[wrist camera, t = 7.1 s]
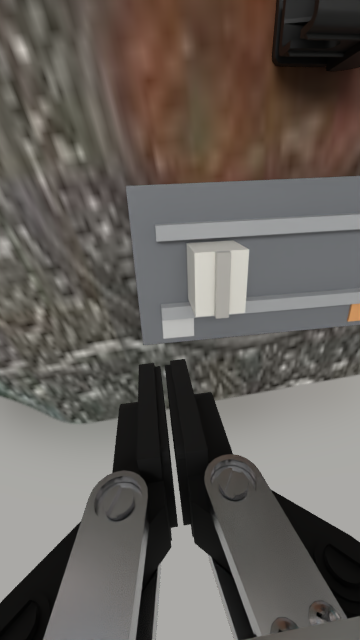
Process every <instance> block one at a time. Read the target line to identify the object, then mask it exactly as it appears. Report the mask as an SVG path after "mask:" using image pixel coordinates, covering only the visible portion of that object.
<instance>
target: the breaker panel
mask: <svg viewBox="0 0 360 640" xmlns="http://www.w3.org/2000/svg"><path fill="white" fill-rule="evenodd" d="M126 192H127V201H128V210H129V220H130V229H131V238H132V247H133V256H134V265H135V274H136V283H137V292H138V301H139V310H140V319H141V328H142V338H143V345H149V344H160V343H171V342H181V341H192V340H202V339H213V338H224V337H234V336H245V335H255V334H266V333H277V332H287V331H298V330H308V329H319V328H330V327H340V326H351V325H360V176H348V177H324V178H301V179H278V180H255V181H232V182H209V183H185V184H162V185H139V186H126ZM231 240H234V241H235V242H237V243H239V244H241V245H242V246H244V247H246V248H248V249H249V261H248V277H247V293H246V308H245V313H238V314H229V318H218V319H216V317H215V316H203V317H195V314H194V312H193V310H192V307H191V305H190V302H189V300H188V275H187V243H199V242H215V241H231Z"/></svg>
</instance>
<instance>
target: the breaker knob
mask: <svg viewBox="0 0 360 640" xmlns="http://www.w3.org/2000/svg"><path fill="white" fill-rule="evenodd" d="M248 261H249V249H248V248H246V247H244V246H242V245H241V244H239V243H237V242H235V241H234V240H231V241H215V242H199V243H187V275H188V300H189V302H190V305H191V307H192V310H193V312H194V314H195V317H203V316H215V317H216V319H218V318H229V314H238V313H245V308H246V293H247V277H248Z"/></svg>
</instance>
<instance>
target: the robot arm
mask: <svg viewBox="0 0 360 640" xmlns="http://www.w3.org/2000/svg"><path fill="white" fill-rule="evenodd" d="M165 371H166V380H167V389H168V399H169V408H170V417H171V426H172V434H173V442H174V451H175V459H176V467H177V475H178V483H179V491H180V499H181V507H182V515H183V523H184V525H189V524H191V529H192V536H193V537H194V542H195V544H197V545H198V546H199V547H200V548H201V549H203V550H204V551H205V552H206V553H207V554H208V556H209V561H210V564H211V567H212V571H213V574H214V577H215V580H216V584H217V587H218V589H219V593H220V596H221V600H222V603H223V606H224V609H225V612H226V616H227V619H228V622H229V625H230V628H231V632H232V634H233V638H234V640H360V542H358V541H357V540H356V539H354V538H353V537H352V536H350V535H348V534H346V533H345V532H343V531H341V530H340V529H338V528H336V527H335V526H332V525H331V524H329V523H328V522H326V521H324V520H322V519H321V518H319V517H317V516H316V515H314V514H312V513H310V512H309V511H307V510H305V509H303V508H302V507H300V506H298V505H296V504H294V503H293V502H291V501H290V500H288V499H286V498H284V497H283V496H281V495H279V494H277V493H276V492H274V491H272V490H271V489H270V488H269V486H268V484H267V483H266V481H265V479H264V478H263V476H262V474H261V473H260V471H259V470H258V468H257V467H256V466H255V465H254V464H253V463H252V462H251V461H249V460H248V459H246V458H244V457H241V456H239V455H233V453H232V450H231V447H230V444H229V442H228V439H227V436H226V433H225V430H224V427H223V424H222V421H221V418H220V415H219V412H218V410H217V407H216V404H215V401H214V398H213V395H212V393H211V392H208V393H201V394H194V393H193V389H192V385H191V381H190V377H189V373H188V369H187V365H186V361H185V359H181V360H173V361H170V365H165ZM177 526H178V524H177V514H176V505H175V496H174V486H173V476H172V468H171V458H170V448H169V438H168V429H167V420H166V411H165V403H164V394H163V386H162V377H161V369H160V366H157V367H155V366H154V363H149V364H141V365H139V387H138V402H134V403H127V404H121V405H120V408H119V416H118V426H117V436H116V445H115V454H114V463H113V473H112V474H110V475H107V476H106V477H105V478H103V479H102V480H101V481H99V483H98V484H97V485H96V486H95V487H94V489H93V490H92V492H91V495H90V497H89V499H88V502H87V505H86V508H85V511H84V515H83V517H82V521H81V522H80V523H79V524H78V525H77V526H76V527H75V528H74V529H73V530H72V531H71V532H70V533H69V534H68V535H67V536H66V537H65V538H64V539H63V540H62V541H61V542H60V543H59V544H58V545H57V546H56V547H55V548H54V549H53V550H52V551H51V552H50V553H49V554H48V555H47V556H46V557H45V558H44V559H43V560H42V561H41V562H40V563H39V564H38V565H37V566H36V567H35V568H34V569H33V570H32V571H31V572H30V573H29V574H28V575H27V576H26V577H25V578H24V579H23V580H22V581H21V582H20V583H19V584H18V585H17V587H15V588H14V589H13V590H12V592H11V593H10V594H9V595H8V596H7V597H6V598H5V599H4V600H3V601H2V602H1V603H0V640H156V629H157V615H158V601H159V588H160V574H161V561H162V560H163V559H164V557H165V556H166V554H167V552H168V551H169V550H170V548H171V540H172V538H171V528H172V527H177Z"/></svg>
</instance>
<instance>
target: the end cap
mask: <svg viewBox="0 0 360 640" xmlns="http://www.w3.org/2000/svg"><path fill="white" fill-rule="evenodd" d="M272 61H273V63H274V64H275V65H276V66H289V67H325V66H327V67H326V70H327V71H339V70H347V69H353V68H358V67H360V0H277V2H276V14H275V26H274V38H273V50H272Z"/></svg>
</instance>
